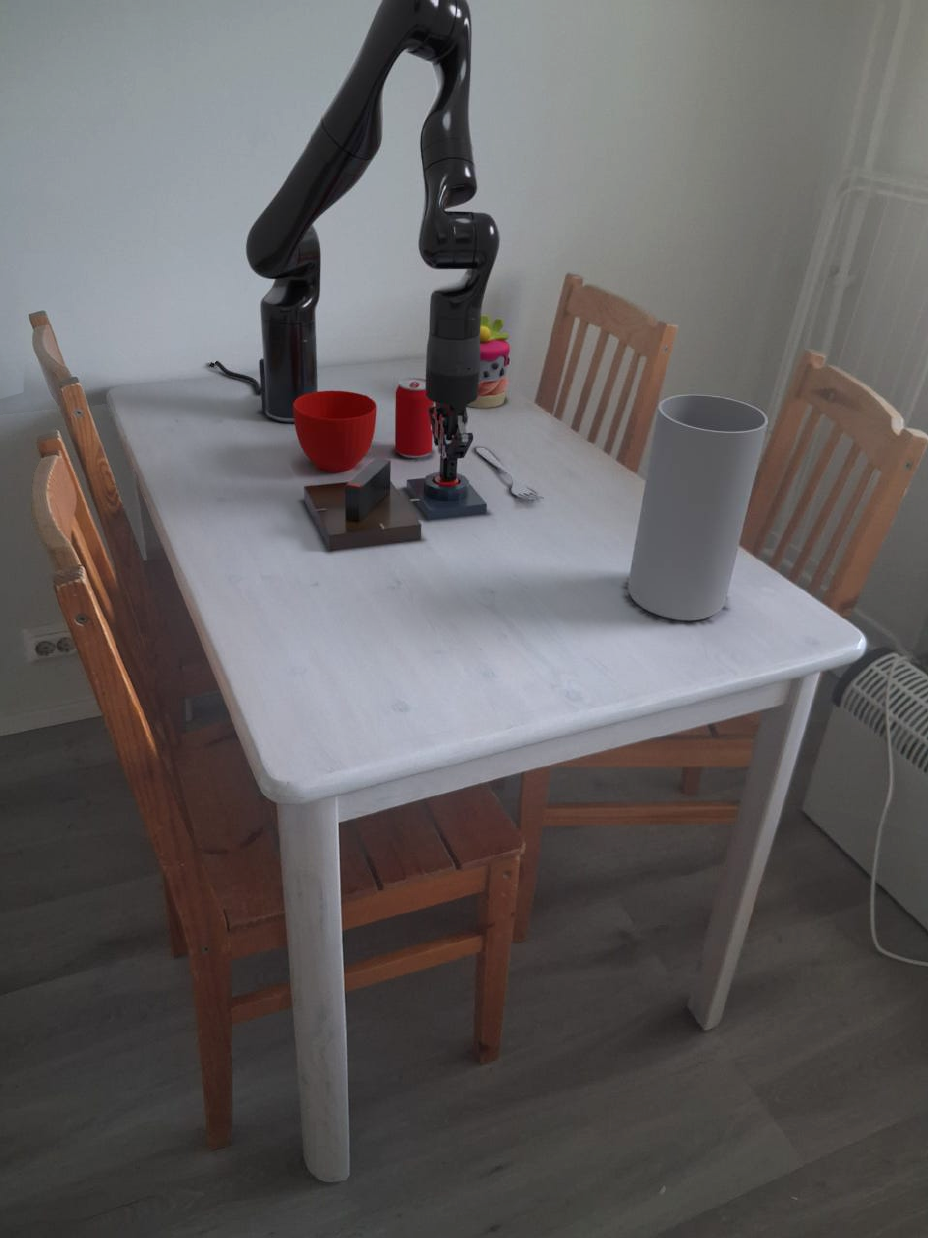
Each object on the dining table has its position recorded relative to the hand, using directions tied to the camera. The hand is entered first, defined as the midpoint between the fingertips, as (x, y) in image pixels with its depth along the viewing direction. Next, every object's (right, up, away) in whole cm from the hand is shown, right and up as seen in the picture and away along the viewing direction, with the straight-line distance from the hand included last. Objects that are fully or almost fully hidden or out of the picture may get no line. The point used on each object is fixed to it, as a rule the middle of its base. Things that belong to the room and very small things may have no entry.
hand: (447, 479), depth 142 cm
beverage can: (-6, +7, +17) cm, 19 cm away
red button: (0, -2, +1) cm, 2 cm away
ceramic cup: (-17, +5, +13) cm, 22 cm away
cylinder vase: (+30, -18, -18) cm, 39 cm away
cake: (+5, +21, +41) cm, 47 cm away
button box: (0, -3, +2) cm, 4 cm away
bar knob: (-11, -5, -6) cm, 14 cm away
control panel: (-12, -7, -5) cm, 15 cm away
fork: (+9, +2, +11) cm, 14 cm away
